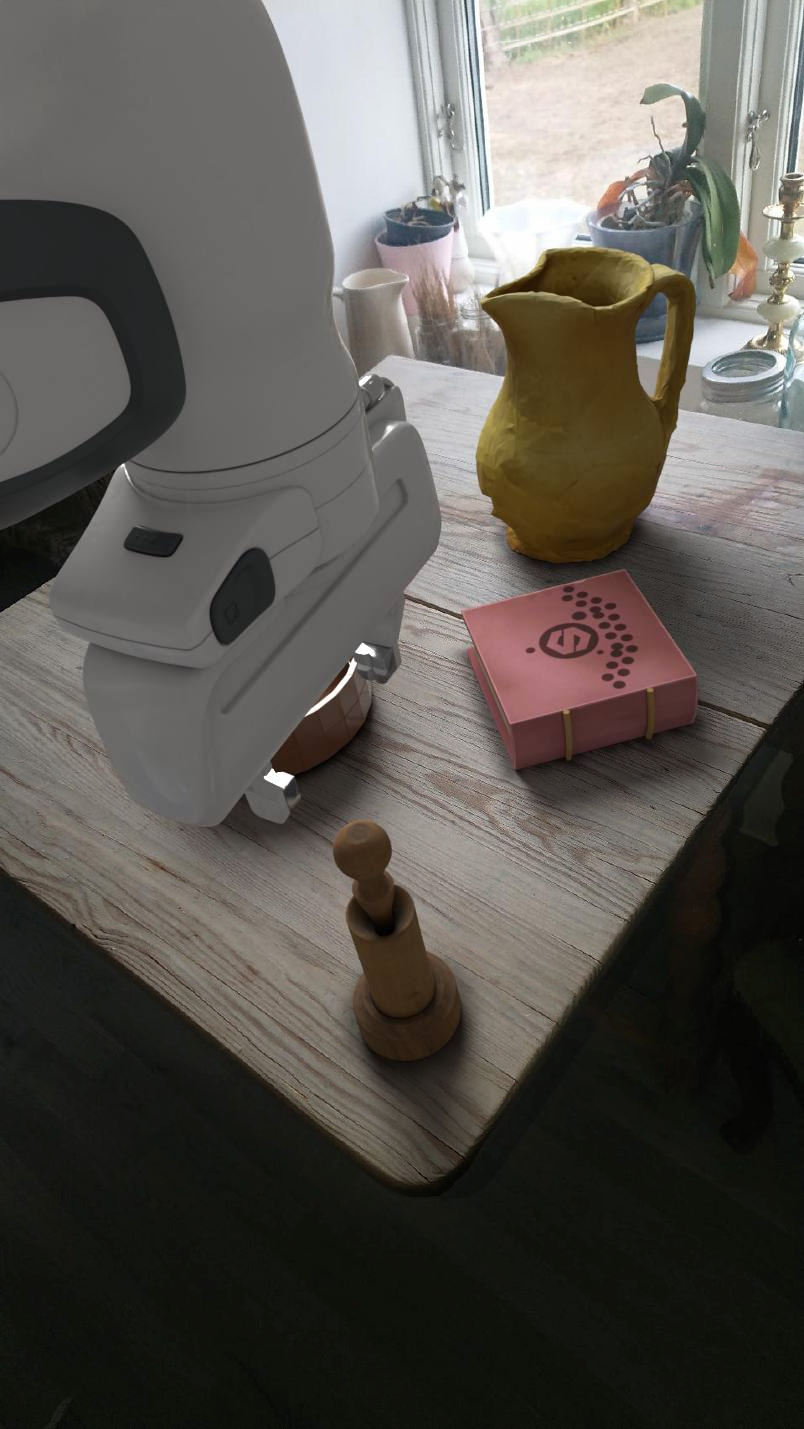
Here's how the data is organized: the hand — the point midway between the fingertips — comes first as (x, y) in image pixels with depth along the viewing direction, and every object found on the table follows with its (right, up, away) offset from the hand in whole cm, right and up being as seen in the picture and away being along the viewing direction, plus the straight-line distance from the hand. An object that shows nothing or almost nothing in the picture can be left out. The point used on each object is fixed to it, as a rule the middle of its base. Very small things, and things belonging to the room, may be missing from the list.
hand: (332, 736), depth 46 cm
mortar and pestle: (+4, -18, +16) cm, 24 cm away
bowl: (-8, +1, +38) cm, 38 cm away
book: (+17, +3, +34) cm, 38 cm away
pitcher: (+21, +19, +50) cm, 58 cm away
